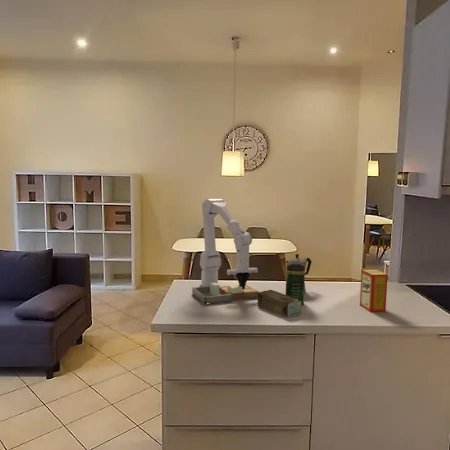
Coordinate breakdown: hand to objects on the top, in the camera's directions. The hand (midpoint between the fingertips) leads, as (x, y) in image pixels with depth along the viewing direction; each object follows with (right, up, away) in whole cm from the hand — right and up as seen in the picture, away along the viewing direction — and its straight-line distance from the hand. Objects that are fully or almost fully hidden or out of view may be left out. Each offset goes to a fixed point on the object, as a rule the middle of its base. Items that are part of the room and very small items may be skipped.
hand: (242, 289), depth 191 cm
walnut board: (-2, -4, +4) cm, 6 cm away
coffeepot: (+28, -3, +14) cm, 31 cm away
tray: (-14, -4, -1) cm, 15 cm away
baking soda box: (+54, -6, -14) cm, 56 cm away
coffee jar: (+23, -5, -8) cm, 24 cm away
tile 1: (-13, 0, +2) cm, 13 cm away
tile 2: (-3, 0, -1) cm, 4 cm away
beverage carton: (+15, -6, -17) cm, 23 cm away
